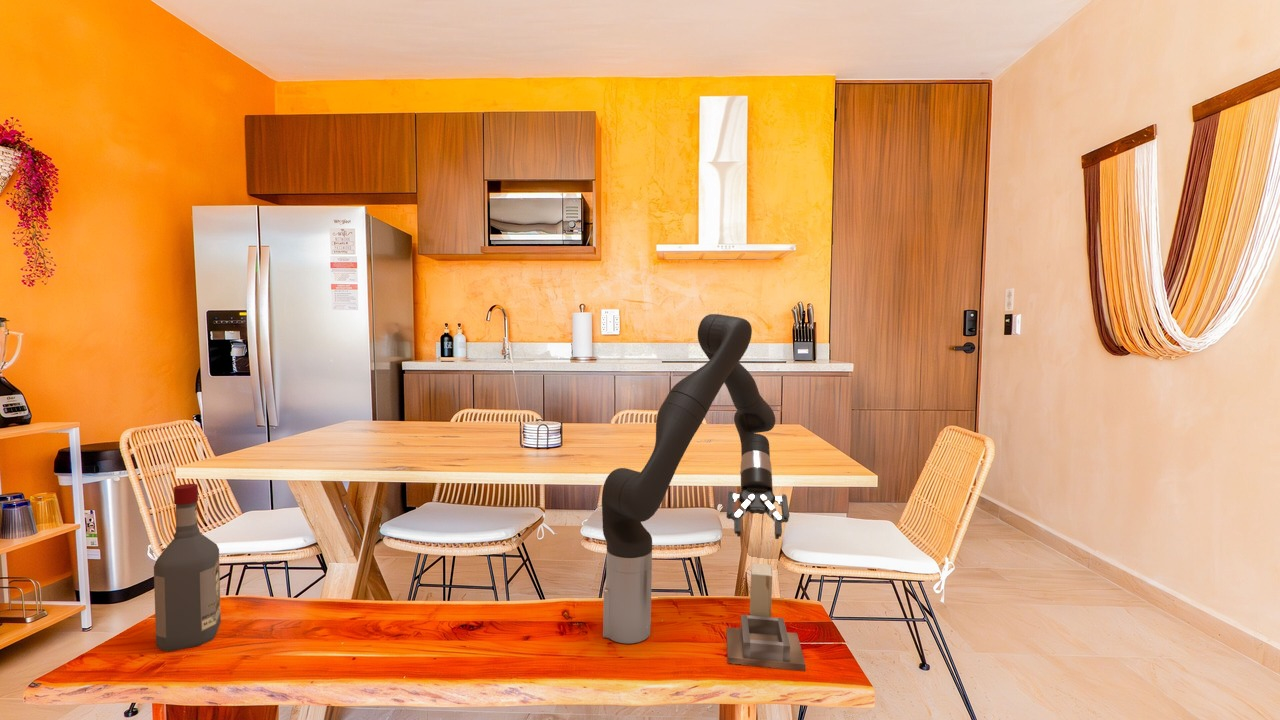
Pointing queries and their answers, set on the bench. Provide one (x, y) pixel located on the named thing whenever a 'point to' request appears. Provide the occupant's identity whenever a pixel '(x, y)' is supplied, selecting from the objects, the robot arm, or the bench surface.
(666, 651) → the bench surface
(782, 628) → the serum holder
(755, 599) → the skincare box
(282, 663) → the bench surface
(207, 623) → the liquor
